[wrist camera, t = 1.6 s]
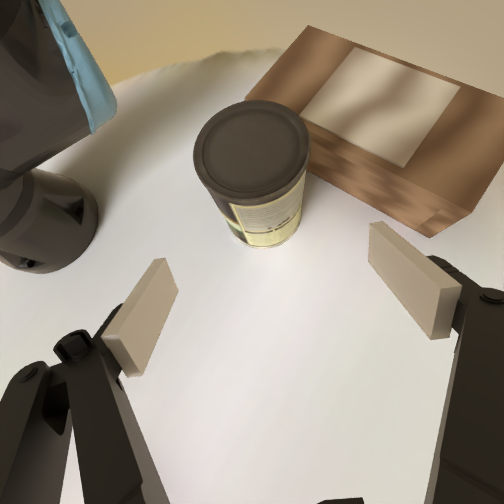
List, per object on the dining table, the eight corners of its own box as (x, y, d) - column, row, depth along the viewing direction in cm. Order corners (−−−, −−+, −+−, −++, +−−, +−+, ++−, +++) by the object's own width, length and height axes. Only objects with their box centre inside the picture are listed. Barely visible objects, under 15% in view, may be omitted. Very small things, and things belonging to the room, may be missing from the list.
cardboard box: (252, 139, 39) (244, 96, 31) (304, 77, 41) (308, 22, 33) (429, 238, 31) (473, 211, 24) (482, 156, 33) (538, 107, 26)
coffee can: (215, 234, 35) (172, 179, 22) (245, 173, 37) (222, 88, 24) (284, 261, 33) (283, 217, 20) (312, 194, 35) (328, 113, 22)
